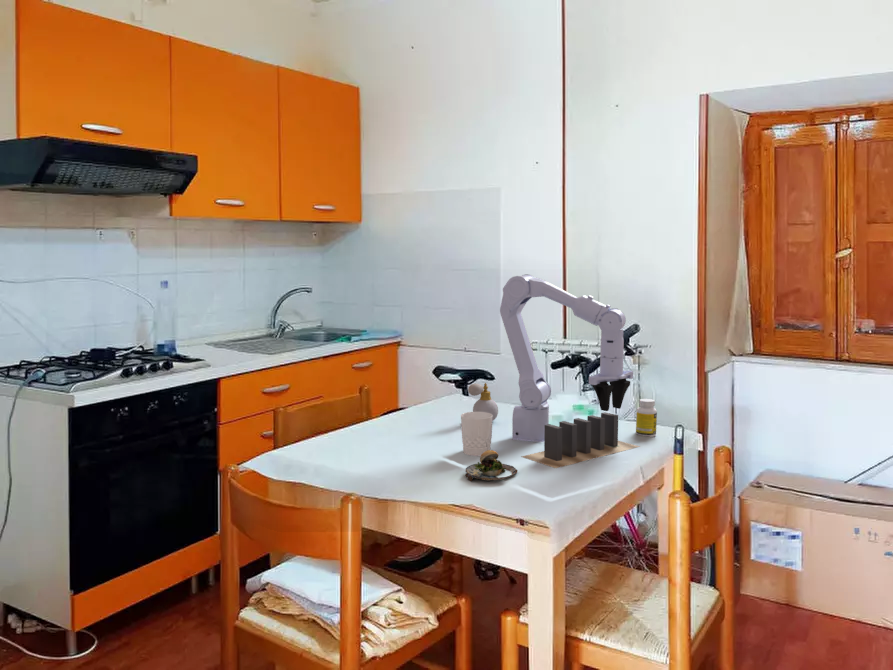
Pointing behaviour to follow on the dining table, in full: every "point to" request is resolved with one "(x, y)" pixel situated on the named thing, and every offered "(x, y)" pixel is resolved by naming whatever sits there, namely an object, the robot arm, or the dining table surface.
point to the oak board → (579, 455)
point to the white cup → (476, 432)
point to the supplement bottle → (646, 418)
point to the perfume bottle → (483, 400)
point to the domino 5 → (610, 429)
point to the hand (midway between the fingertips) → (610, 409)
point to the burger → (488, 467)
